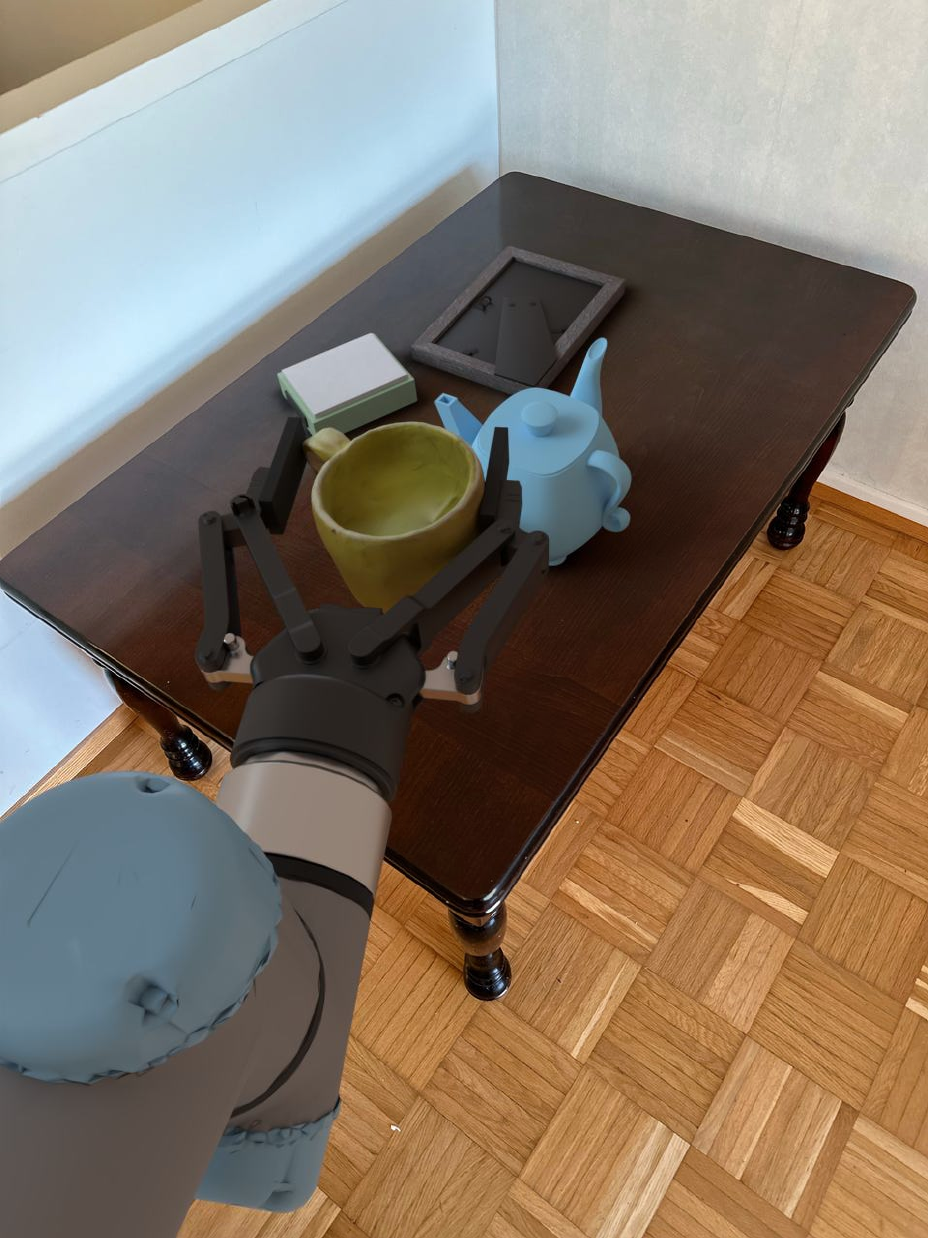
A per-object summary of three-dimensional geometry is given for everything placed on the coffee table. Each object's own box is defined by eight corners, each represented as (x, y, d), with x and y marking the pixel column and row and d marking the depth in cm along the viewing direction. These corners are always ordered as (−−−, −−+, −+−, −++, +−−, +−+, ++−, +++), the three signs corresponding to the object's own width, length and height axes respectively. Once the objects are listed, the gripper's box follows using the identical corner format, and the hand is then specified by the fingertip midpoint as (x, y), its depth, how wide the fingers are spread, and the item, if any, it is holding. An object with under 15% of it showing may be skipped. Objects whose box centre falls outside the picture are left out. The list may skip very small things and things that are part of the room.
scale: (317, 445, 80) (310, 420, 78) (281, 395, 84) (273, 370, 82) (417, 400, 83) (413, 374, 80) (377, 354, 87) (373, 328, 84)
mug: (561, 559, 51) (490, 444, 44) (426, 679, 51) (331, 584, 44) (453, 465, 60) (378, 355, 52) (336, 568, 59) (243, 472, 52)
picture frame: (534, 403, 81) (624, 293, 90) (534, 385, 80) (625, 275, 88) (412, 359, 86) (508, 258, 94) (409, 342, 84) (507, 241, 93)
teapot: (441, 464, 78) (427, 357, 68) (598, 440, 78) (605, 330, 69) (466, 606, 69) (455, 505, 60) (644, 578, 69) (659, 473, 60)
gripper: (93, 797, 44) (222, 474, 57) (577, 850, 41) (602, 496, 54) (22, 723, 38) (184, 379, 51) (584, 778, 35) (610, 397, 47)
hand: (399, 439), depth 52 cm, fingers closed on mug, 11 cm apart
